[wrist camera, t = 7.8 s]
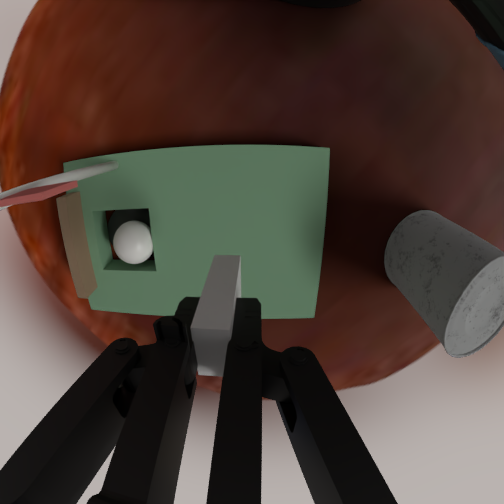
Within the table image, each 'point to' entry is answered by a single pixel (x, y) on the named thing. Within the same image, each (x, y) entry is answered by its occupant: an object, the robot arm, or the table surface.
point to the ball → (133, 242)
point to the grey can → (448, 280)
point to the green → (194, 223)
